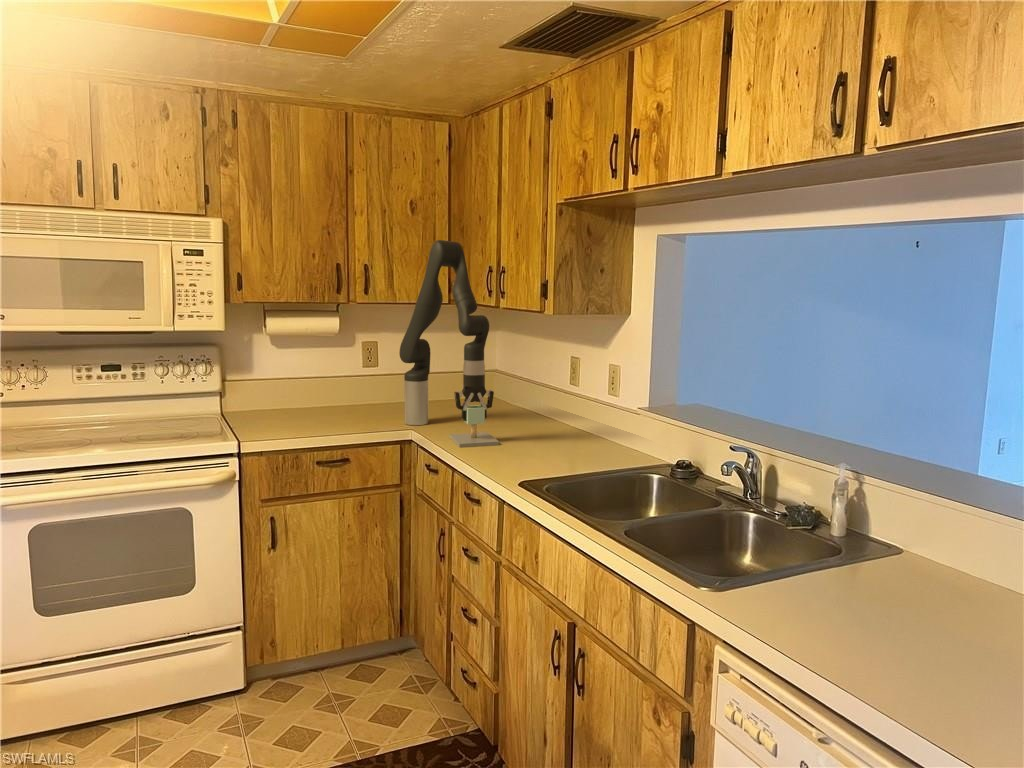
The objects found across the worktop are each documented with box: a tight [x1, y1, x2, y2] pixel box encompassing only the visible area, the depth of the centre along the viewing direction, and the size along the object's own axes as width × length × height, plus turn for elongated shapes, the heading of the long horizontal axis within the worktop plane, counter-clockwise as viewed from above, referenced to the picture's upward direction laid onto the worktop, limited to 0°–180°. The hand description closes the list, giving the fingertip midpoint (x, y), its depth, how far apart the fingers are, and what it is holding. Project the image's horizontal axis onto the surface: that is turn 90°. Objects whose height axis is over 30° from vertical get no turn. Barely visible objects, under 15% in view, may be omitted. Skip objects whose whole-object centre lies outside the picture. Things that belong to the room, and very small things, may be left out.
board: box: [449, 424, 500, 448], centre depth 259 cm, size 16×14×8 cm
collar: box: [463, 404, 486, 425], centre depth 258 cm, size 6×6×6 cm
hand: (474, 420), depth 259 cm, fingers closed on collar, 6 cm apart
